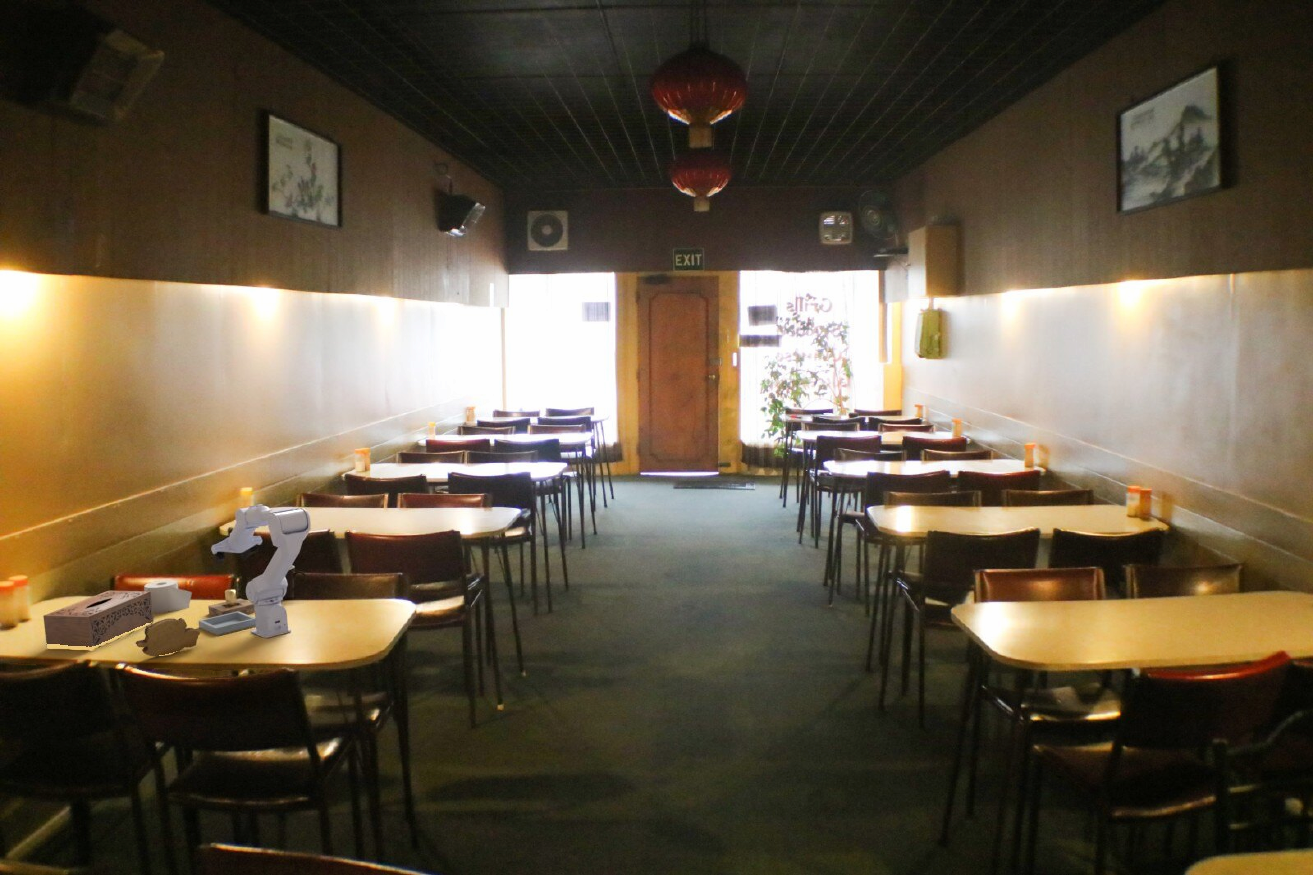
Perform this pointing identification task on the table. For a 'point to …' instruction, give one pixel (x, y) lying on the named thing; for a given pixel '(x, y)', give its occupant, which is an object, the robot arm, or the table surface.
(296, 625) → the table surface
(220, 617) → the tray
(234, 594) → the brass pin
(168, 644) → the wooden carving
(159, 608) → the toilet tissue
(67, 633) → the tissue box cover
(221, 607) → the socket block
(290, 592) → the coffee mug
